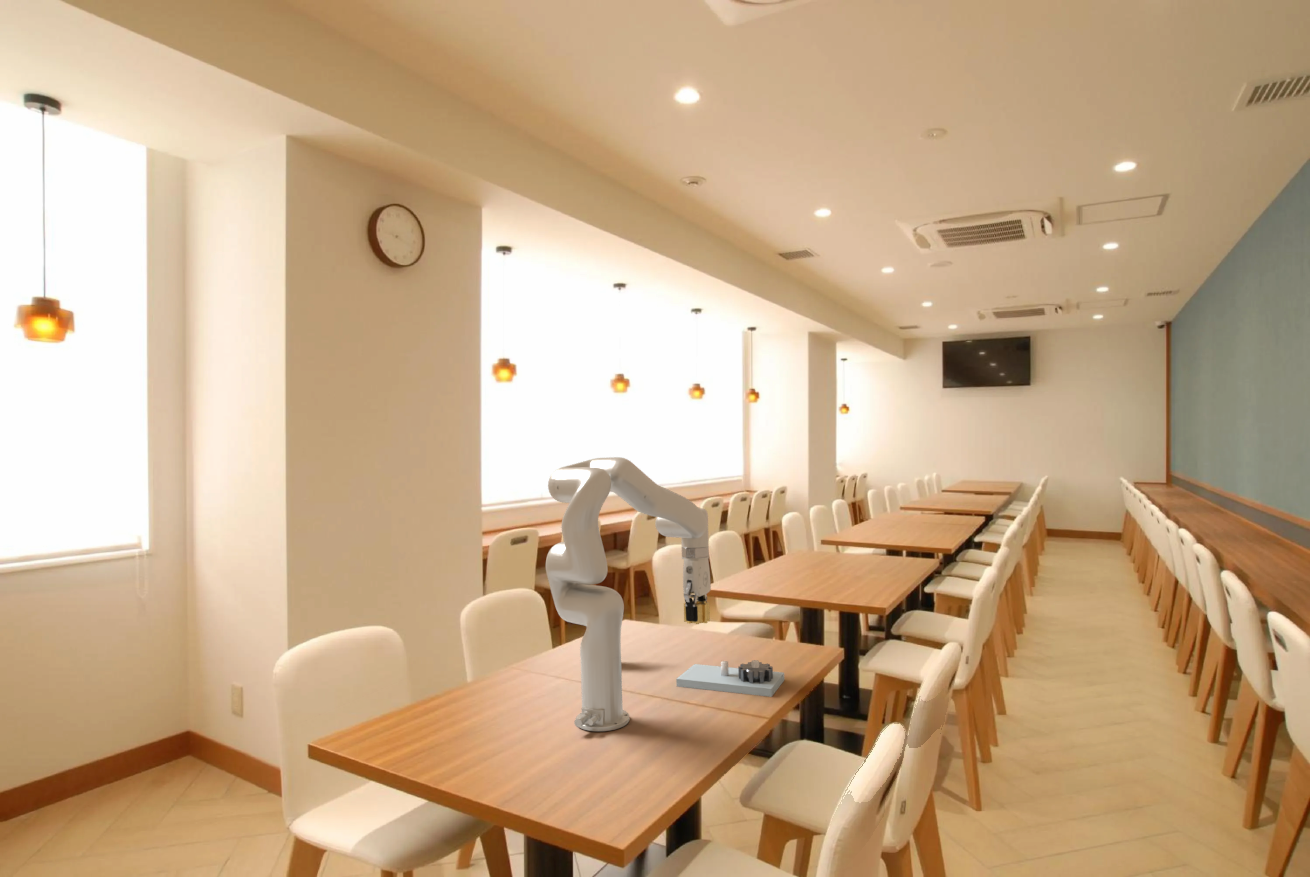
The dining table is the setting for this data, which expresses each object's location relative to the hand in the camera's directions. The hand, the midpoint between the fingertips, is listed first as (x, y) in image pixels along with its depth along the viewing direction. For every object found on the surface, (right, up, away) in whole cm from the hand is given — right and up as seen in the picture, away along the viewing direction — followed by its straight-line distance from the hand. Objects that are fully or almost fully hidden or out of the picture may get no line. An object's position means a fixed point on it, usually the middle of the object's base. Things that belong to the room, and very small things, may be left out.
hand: (696, 617), depth 195 cm
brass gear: (0, -1, 0) cm, 1 cm away
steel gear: (+15, -15, -7) cm, 22 cm away
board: (+9, -17, -4) cm, 19 cm away
